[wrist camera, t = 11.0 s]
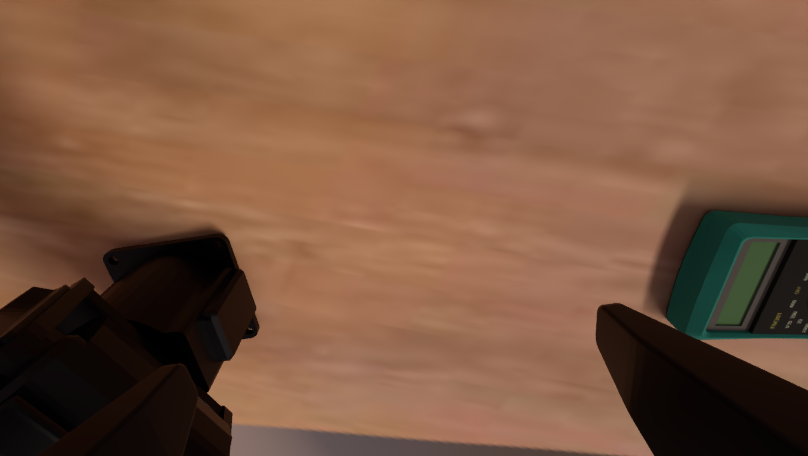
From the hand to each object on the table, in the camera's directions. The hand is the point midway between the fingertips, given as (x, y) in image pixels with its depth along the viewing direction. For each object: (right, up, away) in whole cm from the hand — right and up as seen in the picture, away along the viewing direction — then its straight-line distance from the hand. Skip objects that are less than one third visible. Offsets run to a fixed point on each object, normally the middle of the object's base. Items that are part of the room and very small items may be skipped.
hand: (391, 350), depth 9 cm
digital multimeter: (+23, 0, +16) cm, 28 cm away
